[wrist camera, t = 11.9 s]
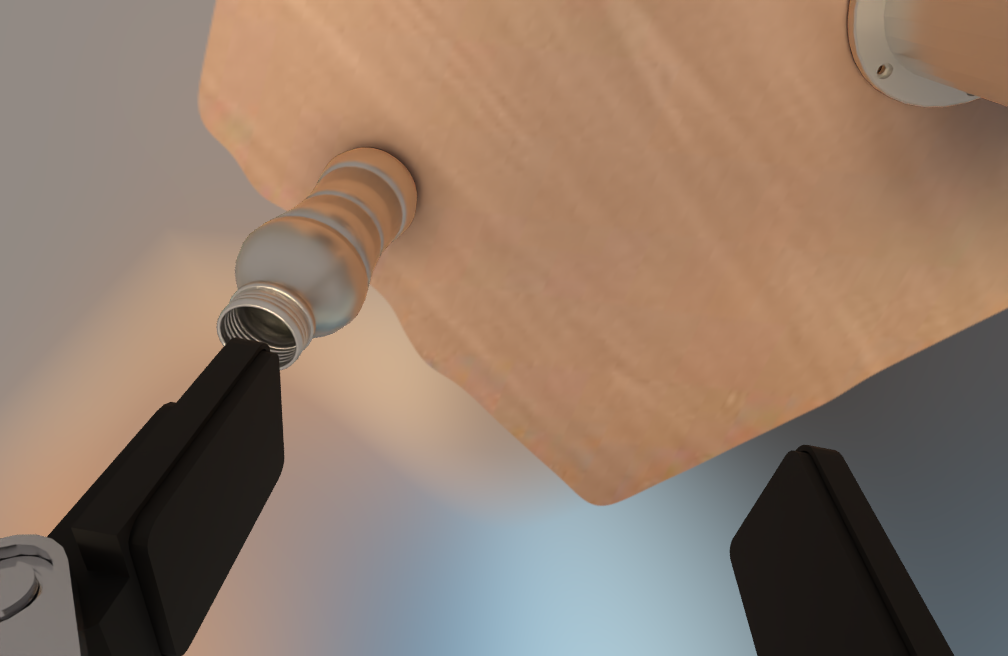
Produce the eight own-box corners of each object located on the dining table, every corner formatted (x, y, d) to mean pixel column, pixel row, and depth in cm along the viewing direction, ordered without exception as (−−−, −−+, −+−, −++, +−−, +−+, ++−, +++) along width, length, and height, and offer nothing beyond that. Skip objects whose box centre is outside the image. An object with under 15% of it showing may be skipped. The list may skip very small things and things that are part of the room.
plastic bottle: (394, 243, 44) (295, 419, 28) (316, 189, 42) (160, 343, 26) (441, 179, 41) (361, 335, 25) (359, 118, 39) (214, 241, 23)
